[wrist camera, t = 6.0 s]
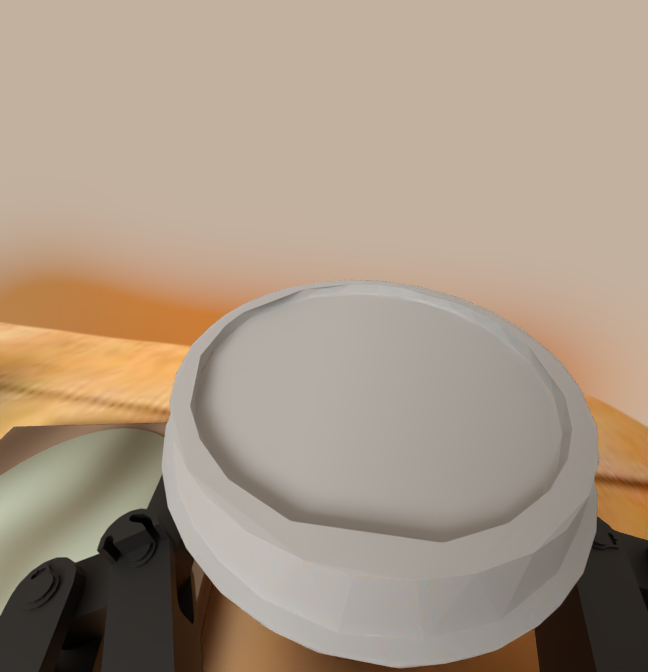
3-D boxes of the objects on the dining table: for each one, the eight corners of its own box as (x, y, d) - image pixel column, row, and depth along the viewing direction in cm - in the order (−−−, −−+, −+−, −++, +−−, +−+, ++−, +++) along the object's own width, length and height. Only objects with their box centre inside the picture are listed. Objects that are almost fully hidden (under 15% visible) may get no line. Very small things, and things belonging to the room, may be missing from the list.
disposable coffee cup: (399, 451, 18) (440, 264, 12) (512, 677, 11) (830, 514, 4) (241, 485, 17) (183, 289, 10) (241, 786, 9) (-18, 823, 2)
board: (246, 436, 19) (241, 418, 18) (173, 754, 9) (156, 751, 8) (27, 442, 19) (11, 424, 18) (-285, 775, 9) (-355, 775, 8)
